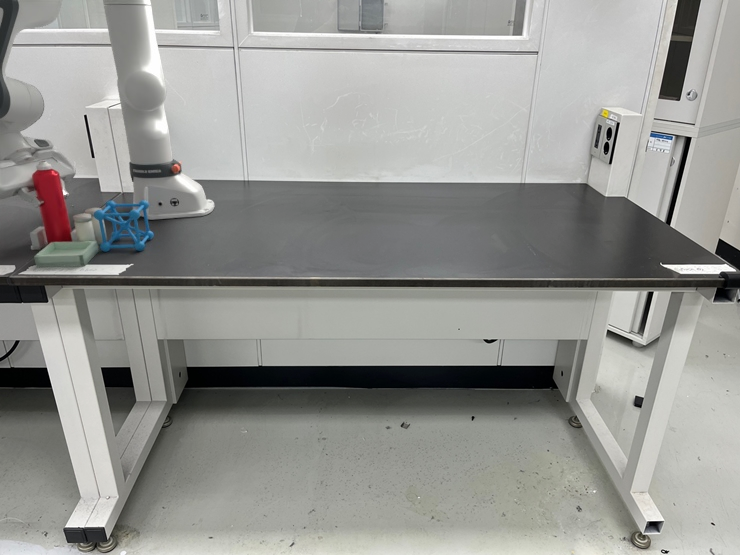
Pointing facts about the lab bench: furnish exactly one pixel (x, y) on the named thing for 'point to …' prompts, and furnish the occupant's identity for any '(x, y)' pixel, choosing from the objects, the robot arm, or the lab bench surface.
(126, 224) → the molecular structure
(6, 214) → the lab bench surface
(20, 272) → the lab bench surface
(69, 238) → the bottle
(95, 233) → the assorted small pieces
